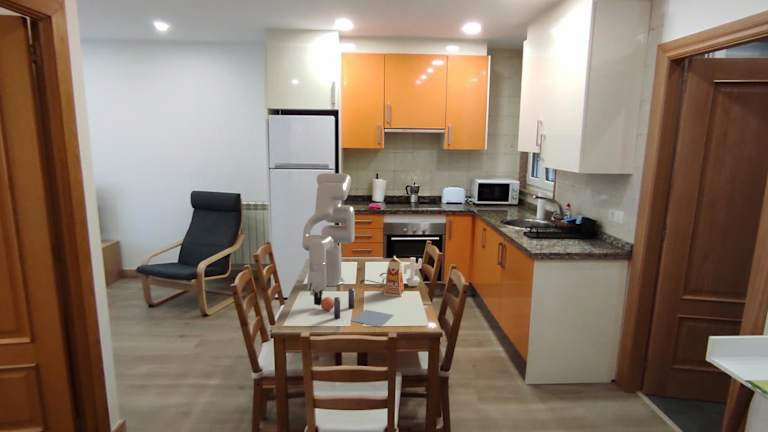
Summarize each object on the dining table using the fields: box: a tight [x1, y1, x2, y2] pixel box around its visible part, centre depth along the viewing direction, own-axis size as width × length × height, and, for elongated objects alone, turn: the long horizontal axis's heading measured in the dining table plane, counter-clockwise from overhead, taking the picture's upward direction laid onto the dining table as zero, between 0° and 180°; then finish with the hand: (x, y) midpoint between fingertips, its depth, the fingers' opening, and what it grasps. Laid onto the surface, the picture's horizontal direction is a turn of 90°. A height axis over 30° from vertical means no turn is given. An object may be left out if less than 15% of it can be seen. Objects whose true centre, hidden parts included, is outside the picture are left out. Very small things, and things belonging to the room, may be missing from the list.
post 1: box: [333, 297, 341, 320], centre depth 193 cm, size 3×3×9 cm
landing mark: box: [350, 309, 394, 328], centre depth 195 cm, size 14×14×1 cm
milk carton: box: [383, 255, 405, 297], centre depth 225 cm, size 9×9×20 cm
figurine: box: [403, 257, 423, 287], centre depth 238 cm, size 7×9×15 cm
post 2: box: [347, 287, 355, 310], centre depth 205 cm, size 3×3×9 cm
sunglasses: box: [360, 272, 387, 287], centre depth 245 cm, size 17×15×5 cm
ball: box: [320, 296, 334, 311], centre depth 202 cm, size 6×6×6 cm
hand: (317, 304), depth 205 cm, fingers closed
